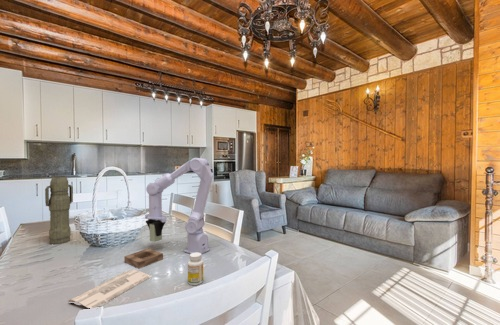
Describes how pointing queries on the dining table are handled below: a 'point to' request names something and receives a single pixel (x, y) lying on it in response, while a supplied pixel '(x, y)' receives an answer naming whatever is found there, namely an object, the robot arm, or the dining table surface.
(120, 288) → the newspaper
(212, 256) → the dining table surface
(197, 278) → the supplement bottle
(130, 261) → the socket block
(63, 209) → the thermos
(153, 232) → the peg
